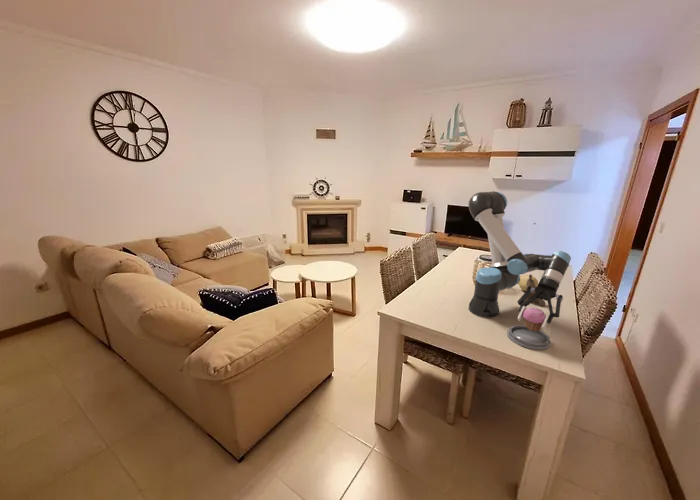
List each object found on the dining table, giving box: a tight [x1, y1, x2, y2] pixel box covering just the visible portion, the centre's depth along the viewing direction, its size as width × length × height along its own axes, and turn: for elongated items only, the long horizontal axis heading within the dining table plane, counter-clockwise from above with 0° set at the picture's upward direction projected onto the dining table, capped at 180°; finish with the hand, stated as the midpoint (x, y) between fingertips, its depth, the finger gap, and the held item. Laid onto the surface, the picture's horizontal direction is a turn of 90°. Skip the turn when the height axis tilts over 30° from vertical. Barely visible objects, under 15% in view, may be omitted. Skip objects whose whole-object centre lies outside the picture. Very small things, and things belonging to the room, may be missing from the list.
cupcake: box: [522, 307, 547, 331], centre depth 130 cm, size 9×9×10 cm
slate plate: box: [506, 324, 552, 351], centre depth 133 cm, size 17×17×2 cm
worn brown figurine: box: [525, 274, 546, 308], centre depth 168 cm, size 12×6×18 cm, turn 36°
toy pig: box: [516, 274, 539, 292], centre depth 184 cm, size 10×12×11 cm
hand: (530, 323), depth 128 cm, fingers closed on cupcake, 9 cm apart
